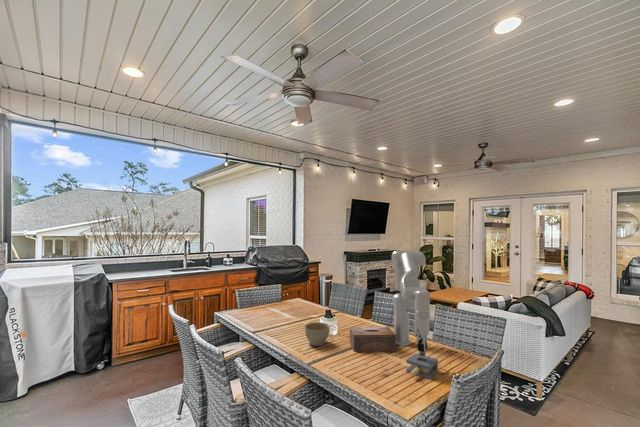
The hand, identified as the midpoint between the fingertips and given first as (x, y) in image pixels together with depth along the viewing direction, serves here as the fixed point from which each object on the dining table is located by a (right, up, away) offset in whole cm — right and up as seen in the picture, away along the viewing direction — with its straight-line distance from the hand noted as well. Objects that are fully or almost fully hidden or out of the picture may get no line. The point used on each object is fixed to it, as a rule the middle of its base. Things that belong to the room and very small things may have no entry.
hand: (422, 349), depth 162 cm
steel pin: (0, -3, 0) cm, 3 cm away
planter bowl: (-55, -12, +36) cm, 67 cm away
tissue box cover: (-21, -13, +33) cm, 41 cm away
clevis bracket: (-2, -11, -3) cm, 11 cm away
